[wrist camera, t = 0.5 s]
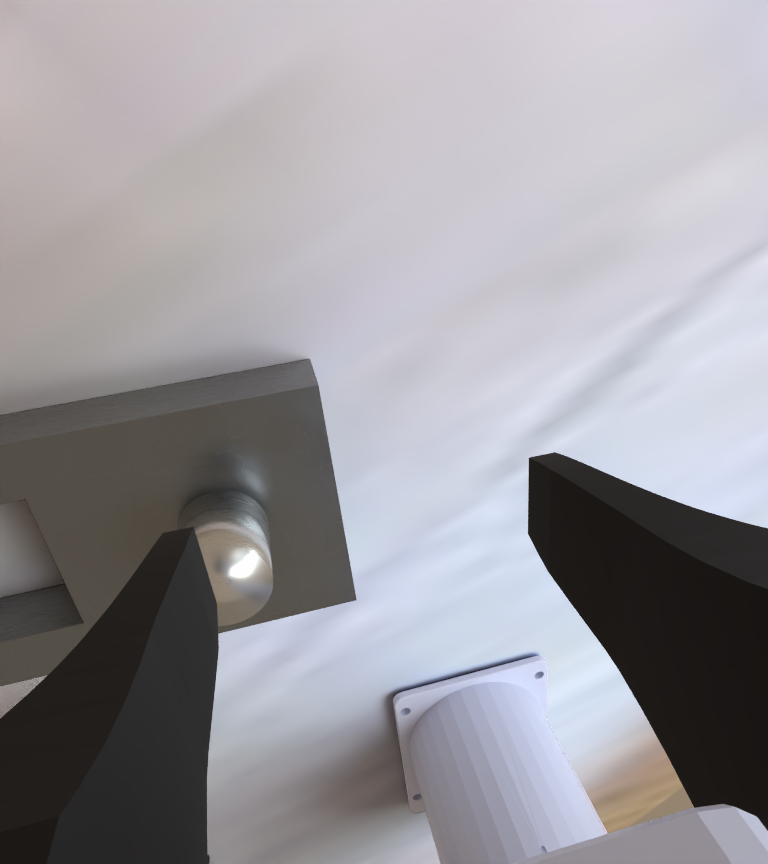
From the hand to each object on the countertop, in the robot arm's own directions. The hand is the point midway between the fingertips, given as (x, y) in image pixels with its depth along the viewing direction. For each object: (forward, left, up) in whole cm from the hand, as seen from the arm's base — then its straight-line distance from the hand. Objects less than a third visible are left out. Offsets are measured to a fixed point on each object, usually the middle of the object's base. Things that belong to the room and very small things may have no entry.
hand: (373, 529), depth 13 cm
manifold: (-4, +8, -10) cm, 13 cm away
